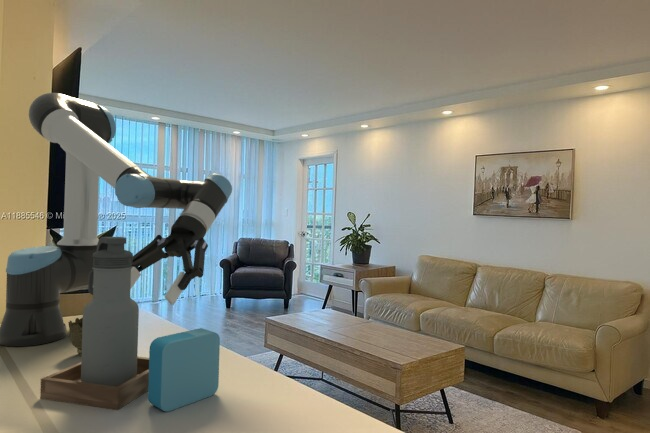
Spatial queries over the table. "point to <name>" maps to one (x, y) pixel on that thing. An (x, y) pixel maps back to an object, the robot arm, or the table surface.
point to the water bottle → (110, 317)
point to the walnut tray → (94, 387)
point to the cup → (76, 334)
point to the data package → (183, 368)
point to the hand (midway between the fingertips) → (143, 297)
